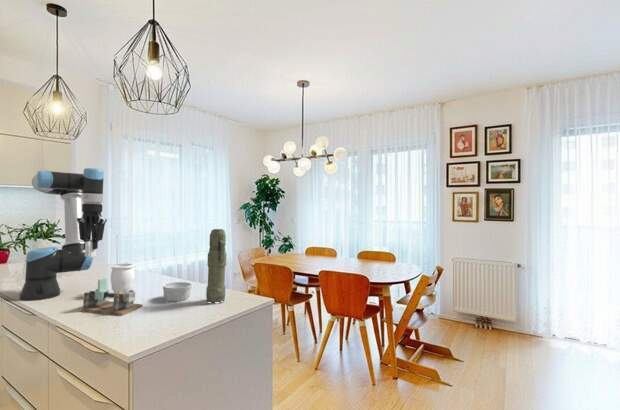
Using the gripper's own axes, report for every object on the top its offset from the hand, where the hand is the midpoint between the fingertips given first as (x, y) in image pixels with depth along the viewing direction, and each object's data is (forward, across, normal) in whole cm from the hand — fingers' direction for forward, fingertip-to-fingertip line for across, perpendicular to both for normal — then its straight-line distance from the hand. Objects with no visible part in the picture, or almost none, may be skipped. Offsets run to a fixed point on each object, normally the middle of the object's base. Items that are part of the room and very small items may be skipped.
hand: (90, 256), depth 142 cm
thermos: (+23, +49, +23) cm, 59 cm away
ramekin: (+23, +29, +22) cm, 43 cm away
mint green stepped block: (+18, +6, 0) cm, 19 cm away
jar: (+23, -1, +21) cm, 31 cm away
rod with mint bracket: (+22, +12, 0) cm, 25 cm away
